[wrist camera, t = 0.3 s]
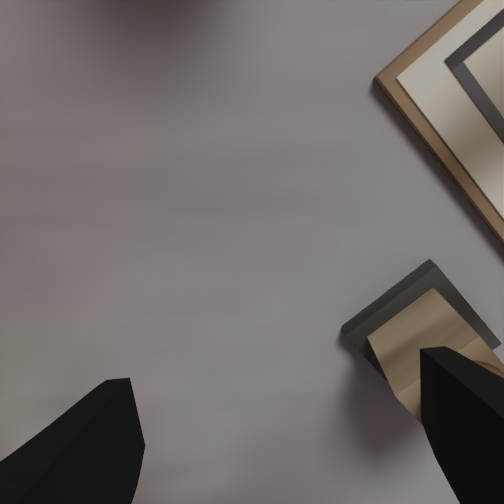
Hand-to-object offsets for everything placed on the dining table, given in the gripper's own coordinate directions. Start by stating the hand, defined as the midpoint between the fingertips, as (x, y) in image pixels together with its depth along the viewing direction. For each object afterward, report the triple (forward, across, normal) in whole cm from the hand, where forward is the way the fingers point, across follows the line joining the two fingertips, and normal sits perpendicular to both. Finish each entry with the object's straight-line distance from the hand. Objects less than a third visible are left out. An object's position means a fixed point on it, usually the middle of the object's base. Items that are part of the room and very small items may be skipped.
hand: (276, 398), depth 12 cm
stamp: (+10, -6, +4) cm, 13 cm away
